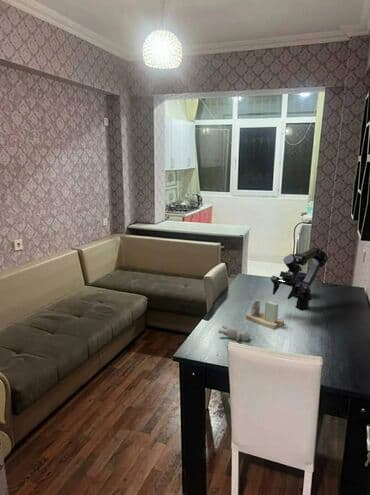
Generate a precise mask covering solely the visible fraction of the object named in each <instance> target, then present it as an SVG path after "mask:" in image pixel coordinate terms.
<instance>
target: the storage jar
mask: <svg viewBox="0 0 370 495" xmlns="http://www.w3.org/2000/svg"><path fill="white" fill-rule="evenodd" d="M306 275H307V273H306V272H302V271H299V273H298V275H297V280H295V281H294V283H295V282H298V283H299V282H300V283H302V282H303V281H304V279H305V277H306ZM294 283H293V284H294ZM292 298H295V299H297V298H296V297H295V295H294V296H293V297H292Z"/></svg>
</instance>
